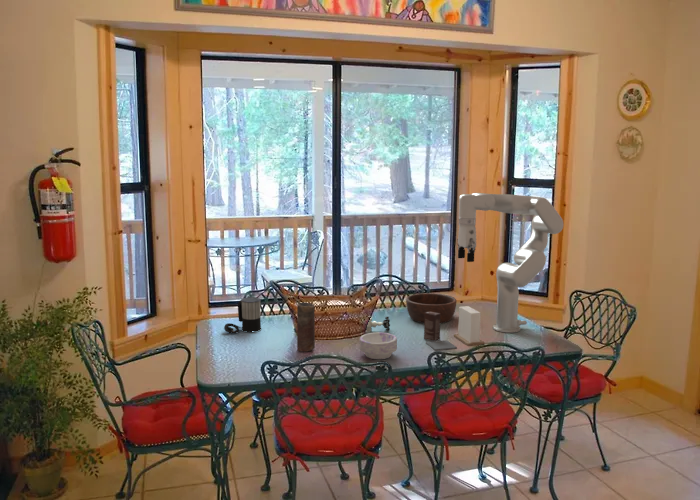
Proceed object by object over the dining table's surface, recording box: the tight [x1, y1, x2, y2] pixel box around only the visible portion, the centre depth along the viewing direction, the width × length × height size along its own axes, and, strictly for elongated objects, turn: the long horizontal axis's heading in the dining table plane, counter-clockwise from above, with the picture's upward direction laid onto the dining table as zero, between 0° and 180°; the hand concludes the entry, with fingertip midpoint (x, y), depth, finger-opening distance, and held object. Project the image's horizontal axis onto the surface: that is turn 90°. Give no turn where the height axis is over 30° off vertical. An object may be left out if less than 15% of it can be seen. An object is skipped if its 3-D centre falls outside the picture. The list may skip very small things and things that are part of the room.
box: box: [423, 312, 441, 342], centre depth 267 cm, size 6×4×12 cm
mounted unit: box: [453, 305, 485, 347], centre depth 265 cm, size 8×14×14 cm, turn 15°
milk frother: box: [223, 296, 262, 334], centre depth 279 cm, size 14×16×15 cm
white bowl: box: [359, 331, 398, 360], centre depth 245 cm, size 15×15×8 cm
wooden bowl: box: [405, 292, 457, 324], centre depth 301 cm, size 25×25×10 cm
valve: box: [366, 316, 391, 333], centre depth 280 cm, size 7×7×12 cm
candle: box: [296, 301, 316, 353], centre depth 251 cm, size 8×7×20 cm
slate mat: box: [425, 339, 457, 351], centre depth 258 cm, size 10×10×1 cm
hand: (465, 259), depth 269 cm, fingers open, 9 cm apart
